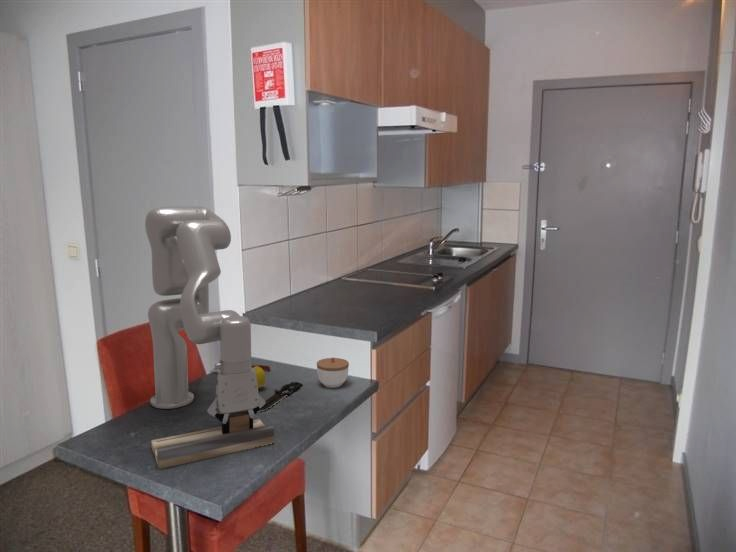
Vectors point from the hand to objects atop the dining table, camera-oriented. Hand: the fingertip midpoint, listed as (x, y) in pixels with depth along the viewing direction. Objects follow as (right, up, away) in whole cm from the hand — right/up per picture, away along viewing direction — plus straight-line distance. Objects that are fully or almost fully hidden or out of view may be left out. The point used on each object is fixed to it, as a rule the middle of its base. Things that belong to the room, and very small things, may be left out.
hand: (237, 433), depth 139 cm
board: (-6, -3, -1) cm, 7 cm away
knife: (+6, +1, +32) cm, 32 cm away
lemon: (-3, +3, +38) cm, 38 cm away
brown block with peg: (-1, 0, +2) cm, 2 cm away
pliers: (-11, +5, +54) cm, 56 cm away
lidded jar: (+21, +3, +44) cm, 49 cm away
